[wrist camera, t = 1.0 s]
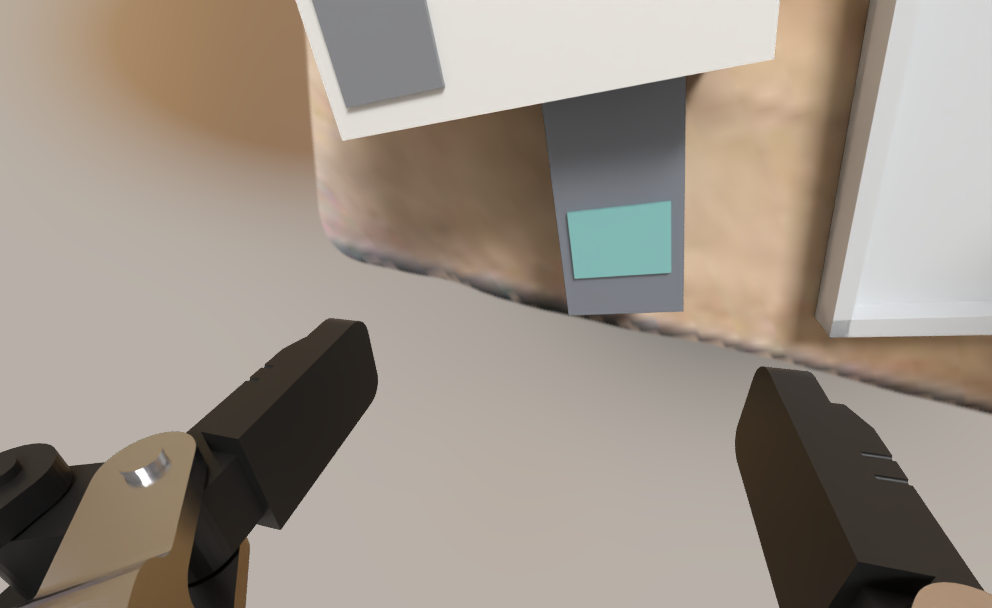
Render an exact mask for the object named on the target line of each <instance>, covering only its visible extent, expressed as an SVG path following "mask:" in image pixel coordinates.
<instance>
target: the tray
mask: <svg viewBox="0 0 992 608" xmlns="http://www.w3.org/2000/svg"><path fill="white" fill-rule="evenodd" d="M815 318H816V320H817V321H818V322H819V324H820V325H821V327H822V328H823V329H824V331H825V332H826V333H827V335H828V336H829V337H830V338H834V337H894V336H954V335H992V0H870V4H869V10H868V16H867V21H866V27H865V33H864V38H863V44H862V50H861V56H860V61H859V67H858V73H857V78H856V84H855V90H854V96H853V101H852V107H851V113H850V118H849V124H848V130H847V136H846V141H845V147H844V153H843V158H842V164H841V170H840V175H839V181H838V187H837V193H836V198H835V204H834V210H833V215H832V221H831V227H830V233H829V238H828V244H827V250H826V255H825V261H824V267H823V273H822V278H821V284H820V290H819V295H818V301H817V307H816V312H815Z"/></svg>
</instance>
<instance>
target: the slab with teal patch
mask: <svg viewBox="0 0 992 608" xmlns="http://www.w3.org/2000/svg"><path fill="white" fill-rule="evenodd" d="M542 110H543V118H544V126H545V134H546V142H547V149H548V157H549V165H550V173H551V181H552V188H553V196H554V204H555V212H556V219H557V227H558V235H559V243H560V251H561V258H562V266H563V274H564V282H565V290H566V297H567V305H568V313H569V316H570V315H597V314H625V313H652V312H680V311H683V290H684V202H685V114H686V76H682V77H677V78H672V79H667V80H661V81H656V82H651V83H645V84H640V85H635V86H630V87H624V88H619V89H614V90H609V91H603V92H598V93H593V94H587V95H582V96H577V97H572V98H566V99H561V100H556V101H551V102H545V103H542Z"/></svg>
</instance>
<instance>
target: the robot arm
mask: <svg viewBox="0 0 992 608" xmlns="http://www.w3.org/2000/svg"><path fill="white" fill-rule="evenodd" d="M377 385H378V375H377V370H376V366H375V361H374V357H373V352H372V348H371V343H370V338H369V334H368V330H367V327H366V325H365V324H364V323H363V322H361V321H352V320H343V319H334V318H329V319H327V320H325V321H324V322H323V323H321V324H320V325H319V326H318V327H317V328H316V329H315V330H314V331H312V332H311V333H310V334H309V335H308V336H307V337H305V338H303V339H301V340H299V341H297V342H295V343H293V344H291V345H289V346H288V347H286V348H284V349H282V350H281V351H280V352H279V353H277V354H276V355H275V356H274V357H273V358H272V359H271V360H269V361H268V362H267V363H266V364H265V367H264V368H260V369H259V370H258V371H257V372H256V373H254V374H253V375H252V376H251V377H250V380H249V381H245V382H244V383H243V384H242V385H241V386H240V387H238V388H237V389H236V390H235V391H234V392H233V393H231V394H230V395H229V396H228V397H227V398H226V399H225V400H224V401H222V402H221V403H220V404H219V405H218V406H217V407H215V408H214V409H213V410H212V411H211V412H210V413H209V414H207V415H206V416H205V417H204V418H203V419H202V420H200V421H199V422H198V423H197V424H196V425H195V426H194V427H192V428H191V429H190V430H189V431H188V432H187V433H184V432H164V433H159V434H155V435H152V436H149V437H146V438H144V439H141V440H139V441H137V442H135V443H133V444H131V445H129V446H127V447H125V448H124V449H122V450H121V451H119V452H118V453H116V454H115V455H113V456H112V457H111V458H110V459H108V460H107V461H106V462H104V463H94V464H85V465H75V466H68V465H67V464H66V462H65V461H64V460H63V458H62V457H61V456H60V455H59V453H58V452H57V451H56V449H55V448H54V447H53V446H51V445H48V444H41V443H39V444H29V445H24V446H20V447H16V448H12V449H10V450H7V451H4V452H1V453H0V577H1V578H2V579H3V580H4V581H6V582H7V583H8V584H9V585H10V586H9V587H8V588H7V589H6V590H4V591H3V592H2V593H1V594H0V608H245V606H246V594H247V580H248V567H249V554H250V544H249V541H248V538H247V536H248V534H249V533H250V532H251V531H252V529H253V528H254V527H255V525H256V524H258V525H262V526H266V527H270V528H274V529H279V530H281V529H282V527H283V526H284V525H285V523H286V522H287V520H288V519H289V518H290V516H291V515H292V513H293V512H294V511H295V509H296V508H297V506H298V505H299V504H300V502H301V501H302V499H303V498H304V497H305V495H306V494H307V492H308V491H309V490H310V488H311V487H312V485H313V484H314V483H315V481H316V480H317V478H318V477H319V475H320V474H321V473H322V471H323V470H324V469H325V467H326V466H327V464H328V463H329V462H330V460H331V459H332V457H333V456H334V455H335V453H336V452H337V450H338V449H339V448H340V446H341V445H342V443H343V442H344V441H345V439H346V438H347V436H348V435H349V434H350V432H351V431H352V429H353V428H354V427H355V425H356V424H357V422H358V421H359V420H360V418H361V417H362V415H363V414H364V413H365V411H366V410H367V408H368V407H369V405H370V404H371V403H372V401H373V399H374V397H375V394H376V391H377ZM735 450H736V458H737V463H738V466H739V470H740V473H741V476H742V480H743V483H744V487H745V490H746V493H747V497H748V501H749V504H750V507H751V511H752V515H753V518H754V521H755V525H756V528H757V532H758V535H759V538H760V542H761V546H762V549H763V553H764V556H765V559H766V563H767V566H768V570H769V573H770V576H771V580H772V584H773V587H774V591H775V594H776V598H777V601H778V604H779V608H992V594H989V593H987V592H985V591H984V589H983V588H982V587H981V586H980V584H979V583H978V581H977V580H976V578H975V577H974V575H973V574H972V572H971V571H970V569H969V568H968V566H967V565H966V564H965V562H964V560H963V559H962V558H961V556H960V555H959V553H958V552H957V550H956V549H955V547H954V546H953V544H952V543H951V542H950V540H949V538H948V537H947V536H946V534H945V533H944V531H943V530H942V528H941V527H940V525H939V524H938V522H937V521H936V519H935V518H934V517H933V515H932V514H931V512H930V511H929V509H928V508H927V506H926V505H925V503H924V502H923V500H922V499H921V497H920V496H919V494H918V493H917V491H916V490H915V489H914V487H913V486H910V485H908V478H907V477H906V476H905V474H904V472H903V471H902V469H901V468H900V466H899V465H898V464H897V462H896V461H892V455H891V453H890V452H889V450H888V449H887V447H886V446H885V444H884V443H883V442H882V440H881V439H880V437H879V436H878V434H877V433H876V431H875V430H874V429H873V428H872V427H871V426H870V425H869V424H867V423H866V422H865V421H864V420H863V419H861V418H860V417H859V416H858V415H856V414H855V413H854V412H853V411H852V410H850V409H849V408H848V407H847V406H845V405H844V404H835V403H830V401H829V400H828V398H827V396H826V395H825V393H824V391H823V389H822V388H821V386H820V385H819V383H818V381H817V380H816V378H815V377H814V375H813V374H812V373H810V372H808V371H799V370H790V369H781V368H772V367H760V368H758V369H757V371H756V373H755V375H754V377H753V381H752V383H751V387H750V390H749V393H748V396H747V399H746V402H745V405H744V408H743V411H742V414H741V417H740V420H739V423H738V426H737V430H736V438H735Z"/></svg>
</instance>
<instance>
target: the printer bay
mask: <svg viewBox="0 0 992 608" xmlns="http://www.w3.org/2000/svg"><path fill="white" fill-rule="evenodd" d="M779 2H780V0H296V3H297V6H298V9H299V12H300V15H301V18H302V21H303V24H304V27H305V30H306V33H307V36H308V39H309V42H310V45H311V48H312V51H313V54H314V57H315V60H316V63H317V66H318V69H319V72H320V75H321V78H322V81H323V84H324V87H325V90H326V93H327V96H328V99H329V102H330V105H331V108H332V111H333V114H334V117H335V121H336V124H337V127H338V130H339V133H340V136H341V139H342V141H345V140H350V139H355V138H361V137H366V136H371V135H376V134H382V133H387V132H392V131H398V130H403V129H408V128H413V127H419V126H424V125H429V124H435V123H440V122H445V121H450V120H456V119H461V118H466V117H471V116H477V115H482V114H487V113H493V112H498V111H503V110H508V109H514V108H519V107H524V106H529V105H535V104H540V103H545V102H551V101H556V100H561V99H566V98H572V97H577V96H582V95H587V94H593V93H598V92H603V91H609V90H614V89H619V88H624V87H630V86H635V85H640V84H645V83H651V82H656V81H661V80H667V79H672V78H677V77H682V76H688V75H693V74H698V73H704V72H709V71H714V70H719V69H725V68H730V67H735V66H740V65H746V64H751V63H756V62H762V61H767V60H772V59H774V55H775V44H776V34H777V23H778V13H779Z"/></svg>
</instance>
